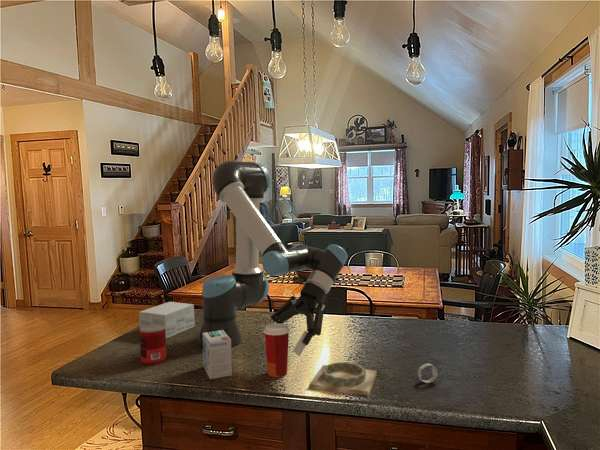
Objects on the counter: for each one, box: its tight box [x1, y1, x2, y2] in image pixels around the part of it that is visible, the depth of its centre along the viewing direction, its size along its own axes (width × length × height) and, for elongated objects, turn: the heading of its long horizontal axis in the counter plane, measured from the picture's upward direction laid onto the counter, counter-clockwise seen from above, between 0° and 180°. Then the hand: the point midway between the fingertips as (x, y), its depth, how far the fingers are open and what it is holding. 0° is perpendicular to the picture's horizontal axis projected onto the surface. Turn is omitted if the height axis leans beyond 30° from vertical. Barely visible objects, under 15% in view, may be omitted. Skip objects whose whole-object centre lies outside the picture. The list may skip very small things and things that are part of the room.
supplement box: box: [138, 301, 196, 339], centre depth 173 cm, size 17×13×9 cm
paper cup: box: [262, 323, 291, 378], centre depth 129 cm, size 8×8×14 cm
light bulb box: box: [202, 330, 233, 380], centre depth 132 cm, size 11×7×11 cm, turn 23°
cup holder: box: [308, 361, 378, 397], centre depth 123 cm, size 16×14×3 cm
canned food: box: [139, 324, 167, 366], centre depth 141 cm, size 8×8×11 cm
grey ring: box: [417, 363, 438, 384], centre depth 122 cm, size 3×5×5 cm, turn 102°
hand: (280, 347), depth 128 cm, fingers open, 13 cm apart
